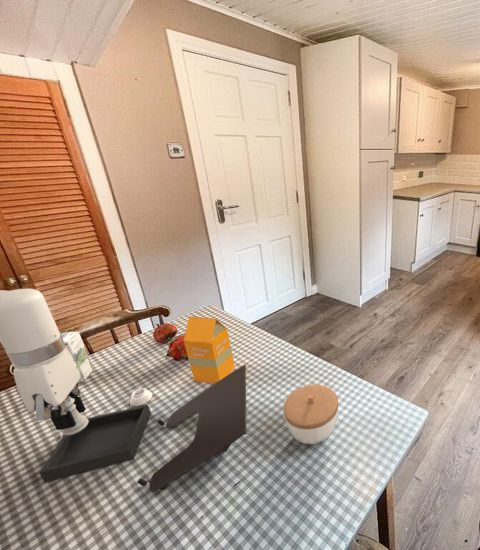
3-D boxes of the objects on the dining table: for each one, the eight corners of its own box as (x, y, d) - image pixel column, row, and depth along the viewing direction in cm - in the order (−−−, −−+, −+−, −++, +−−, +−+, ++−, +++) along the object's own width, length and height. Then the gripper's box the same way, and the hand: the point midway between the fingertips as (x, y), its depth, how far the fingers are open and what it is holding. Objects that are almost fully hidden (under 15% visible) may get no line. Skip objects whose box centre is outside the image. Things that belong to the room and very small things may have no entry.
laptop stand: (185, 429, 81) (160, 410, 77) (260, 380, 84) (240, 359, 80) (166, 518, 62) (130, 500, 57) (265, 450, 64) (239, 427, 60)
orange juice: (220, 384, 89) (207, 325, 82) (193, 381, 90) (178, 323, 83) (235, 367, 96) (224, 312, 89) (210, 364, 98) (197, 309, 90)
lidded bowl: (332, 405, 82) (330, 372, 78) (346, 444, 71) (344, 408, 67) (284, 419, 77) (279, 385, 73) (291, 463, 66) (286, 425, 62)
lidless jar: (156, 396, 85) (144, 391, 86) (154, 387, 84) (141, 383, 85) (139, 409, 80) (126, 404, 82) (136, 400, 79) (123, 396, 81)
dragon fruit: (208, 350, 107) (174, 373, 99) (192, 333, 108) (157, 355, 100) (210, 339, 102) (174, 363, 93) (193, 322, 102) (156, 343, 94)
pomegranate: (184, 343, 112) (171, 322, 115) (183, 335, 107) (169, 313, 109) (162, 354, 108) (149, 332, 110) (159, 346, 102) (146, 323, 105)
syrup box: (72, 373, 94) (54, 333, 88) (94, 370, 95) (78, 330, 90) (61, 386, 88) (41, 344, 83) (85, 382, 90) (67, 341, 85)
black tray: (44, 483, 62) (38, 472, 61) (77, 430, 74) (73, 421, 73) (133, 459, 67) (129, 449, 66) (151, 413, 79) (148, 404, 78)
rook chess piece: (92, 425, 68) (80, 397, 65) (66, 440, 65) (52, 411, 62) (85, 416, 70) (72, 389, 67) (59, 430, 67) (45, 402, 64)
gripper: (39, 332, 66) (70, 397, 73) (-21, 382, 51) (25, 458, 58) (82, 326, 68) (108, 390, 75) (36, 372, 54) (74, 446, 60)
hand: (71, 419), depth 66 cm, fingers closed on rook chess piece, 3 cm apart
